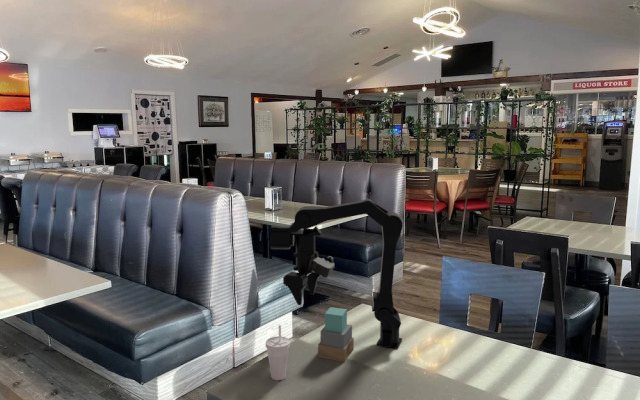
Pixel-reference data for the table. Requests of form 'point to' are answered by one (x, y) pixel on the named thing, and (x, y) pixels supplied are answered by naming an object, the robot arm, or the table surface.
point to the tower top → (336, 337)
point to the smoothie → (278, 355)
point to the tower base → (336, 351)
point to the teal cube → (336, 319)
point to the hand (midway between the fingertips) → (305, 299)
